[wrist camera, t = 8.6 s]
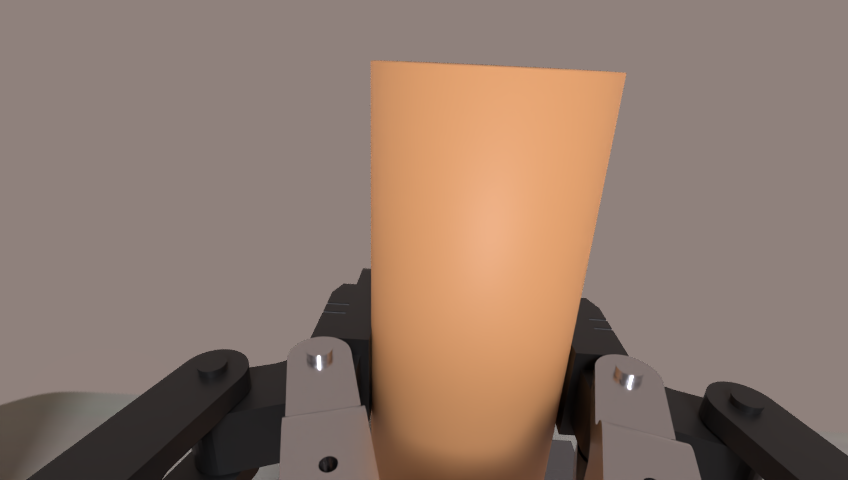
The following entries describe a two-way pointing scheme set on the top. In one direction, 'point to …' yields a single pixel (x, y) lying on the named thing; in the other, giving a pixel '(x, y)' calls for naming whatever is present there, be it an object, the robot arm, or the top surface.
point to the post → (479, 258)
